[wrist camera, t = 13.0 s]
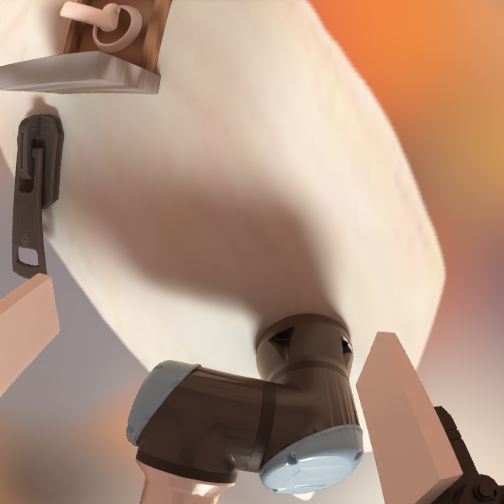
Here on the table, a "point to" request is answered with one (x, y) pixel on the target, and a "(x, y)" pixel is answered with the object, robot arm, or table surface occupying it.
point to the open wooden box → (97, 57)
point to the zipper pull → (35, 186)
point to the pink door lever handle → (105, 22)
